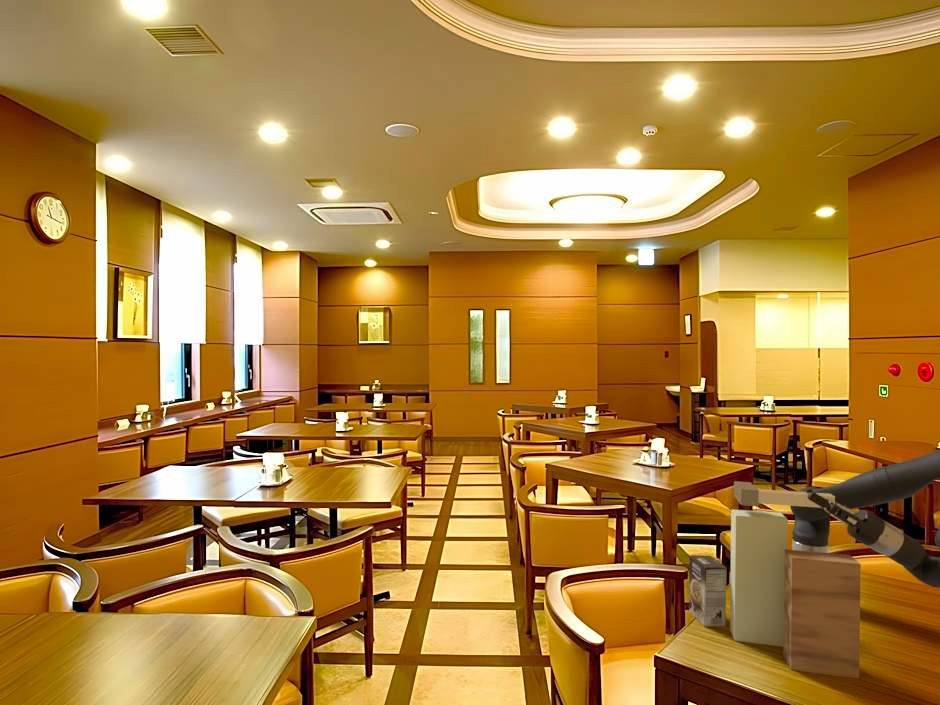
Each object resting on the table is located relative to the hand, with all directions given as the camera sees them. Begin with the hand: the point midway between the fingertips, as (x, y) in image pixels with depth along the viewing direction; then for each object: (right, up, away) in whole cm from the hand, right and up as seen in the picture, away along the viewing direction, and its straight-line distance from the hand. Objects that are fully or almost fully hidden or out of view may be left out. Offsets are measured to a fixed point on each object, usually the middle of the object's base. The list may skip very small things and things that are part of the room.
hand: (808, 493), depth 144 cm
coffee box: (-20, -38, +13) cm, 45 cm away
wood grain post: (-4, -38, -11) cm, 40 cm away
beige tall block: (-12, -38, +3) cm, 40 cm away
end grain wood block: (-5, -3, +1) cm, 6 cm away
